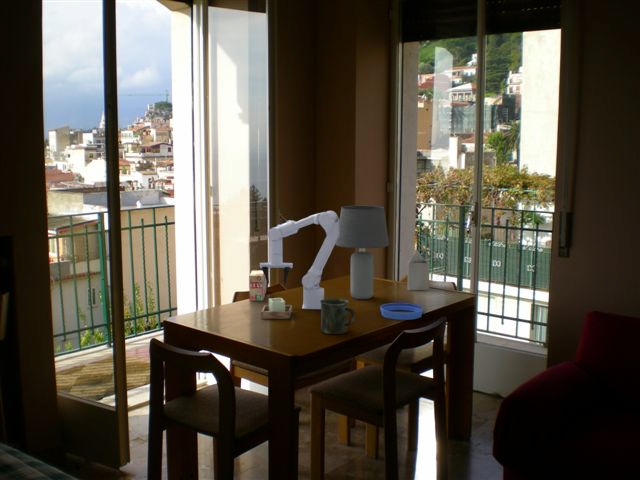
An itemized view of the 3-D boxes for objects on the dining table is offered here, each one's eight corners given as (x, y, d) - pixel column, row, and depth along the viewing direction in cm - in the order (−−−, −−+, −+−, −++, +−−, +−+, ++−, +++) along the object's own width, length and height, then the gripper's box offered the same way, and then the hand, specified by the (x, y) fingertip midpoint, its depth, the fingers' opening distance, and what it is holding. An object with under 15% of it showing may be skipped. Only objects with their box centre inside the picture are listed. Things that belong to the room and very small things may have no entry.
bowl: (395, 322, 281) (395, 314, 281) (372, 313, 297) (372, 305, 297) (431, 317, 290) (431, 309, 289) (407, 308, 305) (407, 300, 305)
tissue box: (421, 292, 338) (422, 253, 336) (407, 290, 343) (407, 252, 341) (436, 287, 351) (437, 249, 349) (422, 285, 356) (423, 248, 353)
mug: (329, 326, 275) (329, 296, 273) (361, 331, 267) (361, 301, 266) (314, 332, 266) (314, 302, 264) (347, 338, 258) (347, 306, 256)
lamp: (375, 290, 342) (376, 204, 336) (397, 301, 319) (398, 209, 313) (328, 293, 334) (328, 205, 328) (346, 305, 311) (346, 210, 305)
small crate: (281, 311, 296) (281, 297, 296) (285, 315, 289) (285, 301, 288) (268, 312, 295) (268, 298, 294) (272, 316, 288) (272, 302, 287)
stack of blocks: (253, 291, 341) (253, 266, 339) (266, 291, 341) (266, 266, 339) (249, 301, 319) (249, 275, 318) (262, 301, 319) (262, 275, 318)
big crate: (292, 312, 298) (292, 305, 297) (290, 319, 286) (290, 312, 285) (264, 311, 298) (264, 305, 298) (261, 318, 286) (261, 311, 286)
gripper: (292, 252, 311) (293, 281, 313) (261, 252, 312) (261, 281, 314) (291, 254, 304) (291, 285, 306) (259, 254, 305) (259, 284, 307)
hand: (276, 283), depth 310 cm, fingers open, 7 cm apart
